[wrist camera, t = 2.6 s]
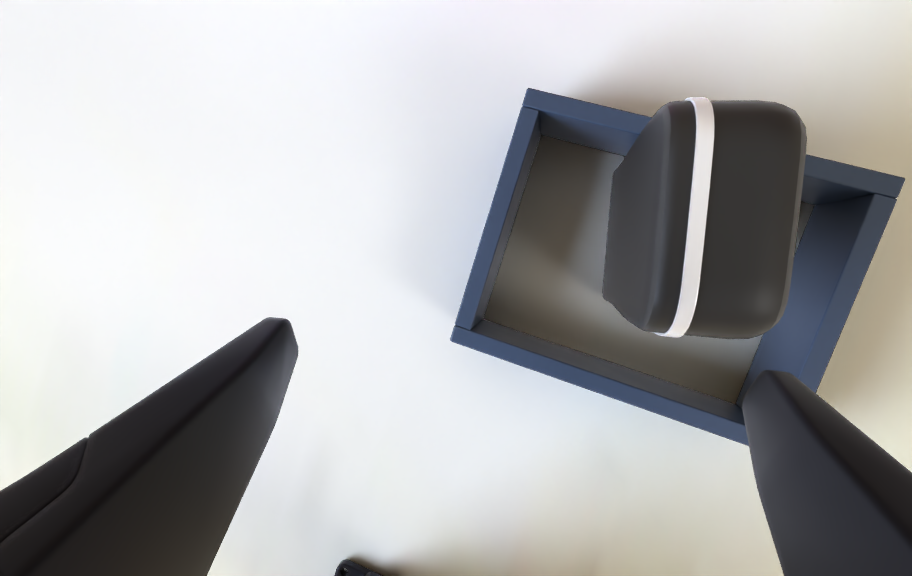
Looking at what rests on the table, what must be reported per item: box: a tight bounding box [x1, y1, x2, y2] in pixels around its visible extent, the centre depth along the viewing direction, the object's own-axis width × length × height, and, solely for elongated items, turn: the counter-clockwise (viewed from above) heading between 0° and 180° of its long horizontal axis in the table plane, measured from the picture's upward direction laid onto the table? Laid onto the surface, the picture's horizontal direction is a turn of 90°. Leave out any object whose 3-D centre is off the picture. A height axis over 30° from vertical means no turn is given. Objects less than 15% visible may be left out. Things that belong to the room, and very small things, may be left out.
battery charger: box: [603, 97, 807, 339], centre depth 17 cm, size 7×4×11 cm, turn 177°
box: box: [450, 88, 905, 446], centre depth 21 cm, size 12×15×4 cm
